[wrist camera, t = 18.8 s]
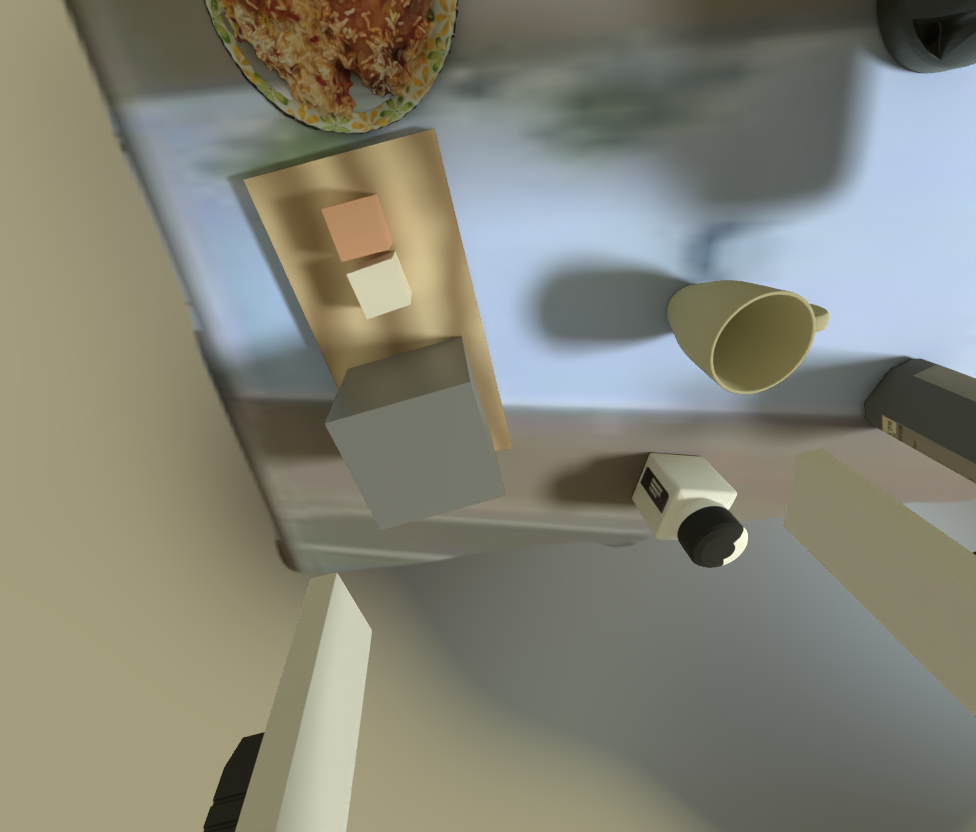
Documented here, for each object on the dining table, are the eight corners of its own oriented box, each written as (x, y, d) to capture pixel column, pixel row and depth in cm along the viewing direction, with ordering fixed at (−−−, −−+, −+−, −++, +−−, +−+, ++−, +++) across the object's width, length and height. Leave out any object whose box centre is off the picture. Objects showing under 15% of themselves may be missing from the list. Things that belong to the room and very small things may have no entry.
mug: (684, 367, 50) (751, 417, 40) (630, 314, 46) (689, 354, 36) (764, 292, 47) (860, 326, 36) (713, 228, 43) (805, 245, 32)
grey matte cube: (461, 336, 44) (470, 381, 34) (491, 433, 49) (505, 495, 40) (347, 368, 44) (324, 423, 34) (390, 461, 50) (380, 530, 40)
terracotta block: (377, 193, 37) (371, 195, 33) (392, 242, 39) (389, 249, 35) (331, 205, 37) (321, 209, 33) (349, 254, 39) (341, 262, 35)
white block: (395, 251, 39) (391, 258, 36) (412, 293, 41) (410, 304, 37) (353, 265, 39) (346, 274, 36) (372, 307, 41) (367, 319, 38)
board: (434, 130, 36) (434, 128, 35) (510, 440, 52) (512, 447, 51) (249, 179, 36) (243, 179, 35) (381, 473, 52) (380, 481, 51)
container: (630, 498, 59) (677, 575, 48) (649, 451, 55) (704, 522, 44) (681, 501, 60) (739, 577, 49) (703, 455, 57) (770, 525, 45)
